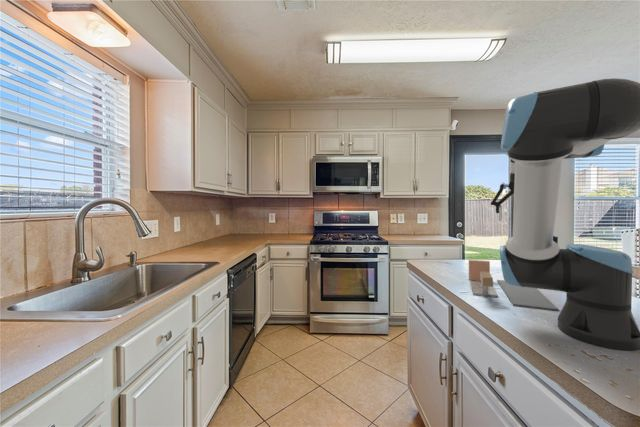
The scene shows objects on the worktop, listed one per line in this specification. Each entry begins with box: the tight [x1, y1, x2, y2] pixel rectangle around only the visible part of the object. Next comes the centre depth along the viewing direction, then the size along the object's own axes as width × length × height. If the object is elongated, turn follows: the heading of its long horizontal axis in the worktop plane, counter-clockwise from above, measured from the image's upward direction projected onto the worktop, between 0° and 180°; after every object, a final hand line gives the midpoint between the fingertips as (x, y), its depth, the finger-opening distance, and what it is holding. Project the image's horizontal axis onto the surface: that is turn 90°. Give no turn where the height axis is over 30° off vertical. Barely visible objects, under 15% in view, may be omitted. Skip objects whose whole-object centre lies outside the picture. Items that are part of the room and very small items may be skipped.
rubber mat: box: [496, 279, 560, 312], centre depth 99 cm, size 30×12×1 cm, turn 154°
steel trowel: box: [469, 271, 499, 298], centre depth 101 cm, size 23×8×9 cm, turn 153°
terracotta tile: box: [468, 259, 491, 282], centre depth 117 cm, size 2×8×9 cm, turn 64°
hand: (520, 221), depth 107 cm, fingers open, 13 cm apart
